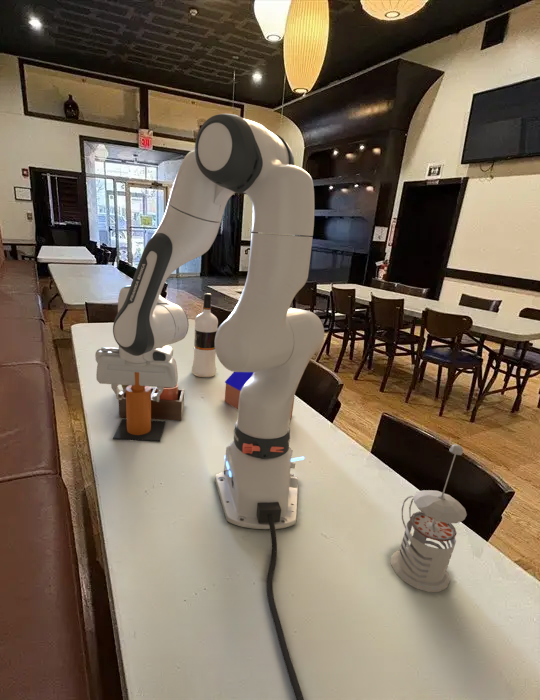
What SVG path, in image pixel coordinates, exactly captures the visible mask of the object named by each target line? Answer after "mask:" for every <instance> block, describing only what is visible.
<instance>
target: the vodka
mask: <svg viewBox="0 0 540 700" xmlns="http://www.w3.org/2000/svg"><path fill="white" fill-rule="evenodd" d="M211 309H212V294H211V293H208V292H207V293H206V292H205V293H204V294H203V308H202V312H201V313H199V314H198V315H196V316H195V318H194V340H193V342H194V344H193V360H192V366H191V373H192V374H193V375H194V376H196V377H199V378H212V377H214V376H215V375H216V374H217V365H216V357H217V354H216V351H215V336H216V332H217V330H218V328H219V326H218V325H219V319H218V318H217V316H216V315H215V314H213V312H212V311H211Z"/></svg>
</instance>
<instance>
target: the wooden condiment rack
mask: <svg viewBox="0 0 540 700" xmlns="http://www.w3.org/2000/svg"><path fill="white" fill-rule="evenodd" d="M126 387H127V386H125V388H124V390H122V391H121V392H123V400H118V418H121V419H127V417H126ZM150 388H151V420H158V421H180V422H181V421H182V419H183V414H184V411H185V391H186V390H185V388H178V400H160V399H159V402H153V395H154V393H157V387H152V386H150Z"/></svg>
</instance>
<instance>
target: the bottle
mask: <svg viewBox="0 0 540 700" xmlns="http://www.w3.org/2000/svg"><path fill="white" fill-rule="evenodd" d="M150 387H151V386H140V385H139V372H135V385H129V386H127V387H126V417H127V418H126V419H127V431H128V432H129V433H130V434H133V435H143V434H146V433H148V432H150V430H151V420H152V419H151V388H150Z"/></svg>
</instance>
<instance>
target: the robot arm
mask: <svg viewBox="0 0 540 700" xmlns="http://www.w3.org/2000/svg"><path fill="white" fill-rule="evenodd" d="M234 194H239V195H240V194H243V195H246V196H247V197H248V198H249V200H250V202H251V205H252V221H251V234H250V235H251V236H250V237H251V238H250V247H249V248H250V249H249V256H248V257H249V259H248V267H247V275H246V279H245V283H244V286H243V289H242V292H241V294H240V296H239V299H238V301H237V302H236V305H235V307H234V309H233V310H232V312H231V313H230V314H229V315H228V317H227V318H226V319H225V320H224V321H223V322H222V323H221V324H220V325H219V326H218V327H217V328H218V329H217V332H216V336H215V351H216V357H217V359H218V361H219V362H220V363H221V365H222V366H223V367H224V368H225V369H227V370H228V371H230V372H232V373H233V372H254V373H253V375H252V376H251V378H250V379H249V380H248V381H247V382H246V383H245V384H244V386H243V387H242V389H241V391H240V396H239V407H238V409H237V420H236V421H235V424H234V429H233V441H232V442H231V443H230V444H228V445H227V446H226V448H225V455H224V456H223V458H224V466H223V471H221V472H219V473H217V474H215V477H214V482H215V485H216V490H217V492H218V495H219V499H220V502H221V506H222V509H223V512H224V516H225V519H226V521H227V522H229V523H230V524H232V525H235V526H238V527H242V528H247V529H255V530H269V531H270V543H271V544H270V545H271V553H270V560H269V561H270V562H269V567H268V570H267V574H266V596H267V603H268V606H269V610H270V613H271V614H270V615H271V618H272V621H273V625H274V629H275V631H276V632H275V633H276V636H277V640H278V643H279V648H280V652H281V655H282V658H283V661H284V665H285V668H286V672H287V675H288V677H289V681H290V685H291V687H292V691H293V694H294V698H295V700H305V698H304V695H303V692H302V689H301V686H300V683H299V680H298V677H297V673H296V670H295V668H294V664H293V661H292V658H291V655H290V651H289V648H288V645H287V641H286V638H285V637H286V636H285V633H284V630H283V626H282V623H281V620H280V616H279V613H278V609H277V606H276V602H275V601H276V600H275V597H274V589H273V588H274V586H273V581H274V574H275V568H276V564H277V557H278V541H277V540H278V539H277V532H276V531H277V530H279V529H280V530H281V529H285V528H289V527H292V526H295V525H296V524H297V518H298V497H299V495H298V494H299V477H297V476H295V475H294V473H291V469H292V470H293V469H296V462H298V461H304V460H305V456H299V457H293V452H294V449H292V447H290V442H291V427H290V423H291V418H290V416H291V410H292V404H293V399H294V400H295V397H294V396H295V395H296V393H297V392H296V391H297V389H298V387H299V385H300V382H301V380H302V377H303V375H304V373H305V370H306V369H307V366H308V364H309V363H310V361H311V359H312V358H313V357H314V355H316V354H317V352H318V351H319V350H320V349H321V347H322V345H323V343H324V341H325V328H324V324H323V322H322V321H321V319H320V317H319V316H318V315H317V314H315V313H314V312H312V311H310V310H305V309H301V308H295V307H291V304H292V302H293V300H294V299H295V297H296V295H297V294H298V293H299V291H300V290H301V289H302V288H303V287H304V286H305V285H306V283H307V281H308V280H309V279H308V278H309V273H310V265H311V264H310V263H311V255H312V246H313V236H314V229H315V228H314V227H315V208H316V207H315V206H316V205H315V188H314V181H313V178H312V176H311V175H310V173H308V172H307V171H306V170H305V169H304V168H302V167H299V166H297V165H295V157H294V153H293V151H292V148H291V147H290V145H289V144H288V142H287V141H286V139H284V138H283V137H281V135H279V134H277V133H274V132H272V131H270V130H269V129H267V128H266V127H265V126H264V125H263V124H261V123H258V122H256V121H254V120H250V119H247V118H244V117H242V116H240V115H238V114H234V113H219V114H218V113H217V114H215V115H213V116H210V117H209V118H208V119H206V120H205V122H203V124H202V125H201V127H199V130H198V132H197V135H196V137H195V142H194V149H193V150H190V151H189V152H188V153H187V154H186V155H185V156H184V158H183V159H182V162H181V164H180V166H179V168H178V170H177V174H176V176H175V179H174V182H173V184H172V187H171V190H170V194H169V198H168V201H167V205H166V209H165V212H164V215H163V216H162V219H161V221H160V224H159V226H158V228H157V229H156V231H155V232H154V234H153V235H152V236H151V237H150V239H149V240H148V242H147V243H146V245H145V247H144V249H143V251H142V254H141V256H140V259H139V261H138V264H137V267H136V269H135V270H136V271H135V272H134V275H133V277H132V281H131V282H130V283H131V284H130V285H124V286H123V287H121V288H120V290H119V293H118V299H117V313H116V315H115V318H114V321H113V325H112V334H113V338H114V341H115V343H116V344H117V346H118V347H101V348H98V349H97V350H96V351H95V355H94V356H95V362H96V363H97V365H96V381H97V382H98V384H101V385H110V387H111V390H112V391H113V392H114V394H115V396H116V397H115V399H116V401H119V400H123V392H122V391H121V390H120V389H119V386H122V385H135V372H139V385H140V386H150V387H152V388H157V390H159V391H158V393H154V395H153V402H159V399H160V394H161V393H162V391H163V389H164V387H170V388H173V387H175V386H176V384H178V382H179V381H178V379H179V376H178V374H179V373H178V365H177V361H176V359H175V358H174V348H173V347H172V346H170V345H172V344H176V343H178V342H180V341H182V340H184V339H185V338H186V336H187V334H188V333H189V332H188V331H189V325H190V324H189V318H188V315H187V312H186V311H185V310H184V308H183V307H182V306H181V305H179V304H177V303H173V302H172V301H170V300H168V299H166V298H165V297H163V296H162V295H161V294H162V291H163V288H164V285H165V283H166V281H167V280H168V278H169V277H170V276H171V275H172V273H174V272H175V271H176V270H177V269H179V268H180V267H182V266H183V265H185V264H187V263H188V262H191V261H193V260H195V259H197V258H199V257H201V256H203V255H204V254H206V253H207V252H208V251H209V250H210V249H211V247H212V246H213V243H214V242H215V240H216V238H217V235H218V234H219V230H220V227H221V223H222V219H223V216H224V212H225V209H226V206H227V204H228V201H229V200H230V198H231V197H232V196H233V195H234ZM290 307H291V308H290ZM293 405H294V404H293Z"/></svg>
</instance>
